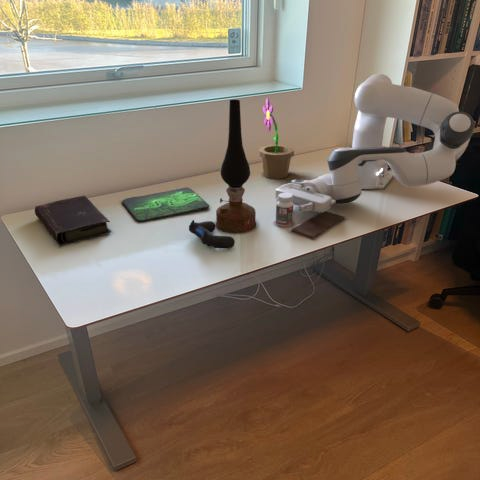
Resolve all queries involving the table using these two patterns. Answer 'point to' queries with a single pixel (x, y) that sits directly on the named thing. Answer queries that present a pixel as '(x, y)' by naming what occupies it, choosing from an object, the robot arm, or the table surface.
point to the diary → (72, 220)
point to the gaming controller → (210, 235)
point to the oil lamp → (235, 180)
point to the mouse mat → (164, 204)
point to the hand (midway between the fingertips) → (289, 205)
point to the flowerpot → (274, 151)
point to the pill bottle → (284, 209)
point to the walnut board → (318, 224)
